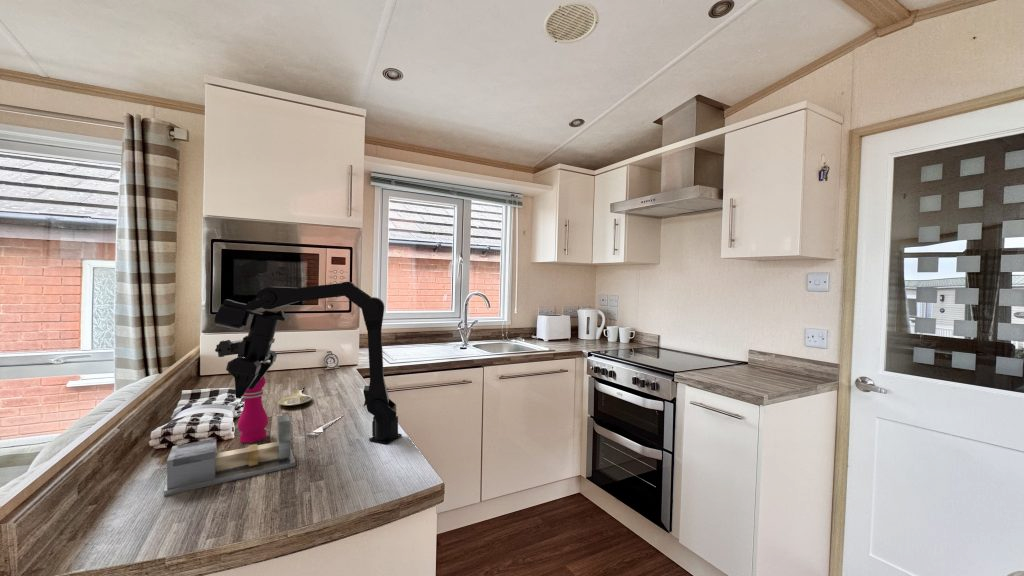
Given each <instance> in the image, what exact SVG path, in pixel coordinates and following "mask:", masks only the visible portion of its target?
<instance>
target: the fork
mask: <svg viewBox="0 0 1024 576" xmlns="http://www.w3.org/2000/svg"><path fill="white" fill-rule="evenodd" d="M339 418H341V416H339V417H337V418H336V419H334V420H331V421H329V422H327V423H325V424H324V425H321V426H320V427H318V428H317V429H315V430H313V432H323V433H324V429H327V428H328V427H329V425H330V426H331V424H332V423H333V424H335V423H336V422H337V421H336V420H338V419H339ZM341 419H342V418H341ZM339 420H340V419H339ZM339 420H338V421H339ZM335 421H336V422H335ZM334 422H335V423H334ZM333 424H332V425H333ZM303 434H304V435H307V436H319V434H315V433H312V432H311V433H310V432H306V433H305V432H303Z"/></svg>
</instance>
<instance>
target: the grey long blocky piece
mask: <svg viewBox="0 0 1024 576" xmlns="http://www.w3.org/2000/svg"><path fill="white" fill-rule="evenodd" d="M217 448H218V447H217V438H210V439H205V440H200V441H199V440H198V441H193V442H190V443H184V444H179V445H178V444H177V445H173V446H172V447H171V450H170V452H169V454H168V457H167V460H166V484H165V486H164V490H163V496H164V497H166V496H170V495H175V494H179V493H184V492H189V491H193V490H196V489H197V490H198V489H201V488H205V487H210V486H214V485H218V484H223V483H227V482H231V481H237V480H241V479H245V478H246V479H247V478H249V477H254V476H259V475H263V474H268V473H273V472H275V471H276V472H277V471H281V470H285V469H289V468H293V467H294V468H295V467H296V463H297V462H296V460H295V456H294V454H293V450H292V448H291V447H290V454H291V457H289V458H284V459H279V458H277V459H272V460H267V461H262V462H258V465H253V466H249V464H248V465H244V466H239V467H234V468H229V469H225V470H220V471H216V462H215V454H216V453H218V451H217Z"/></svg>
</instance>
